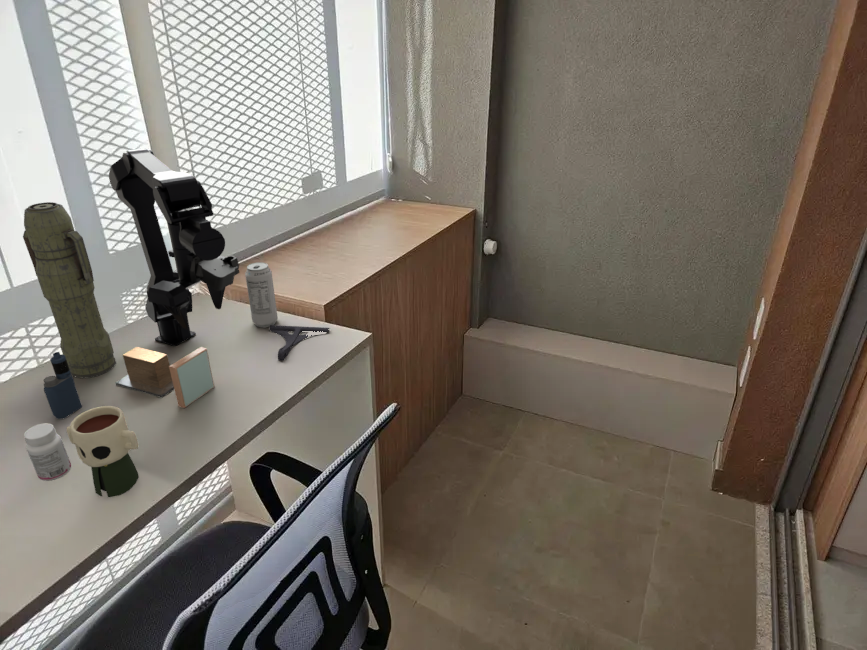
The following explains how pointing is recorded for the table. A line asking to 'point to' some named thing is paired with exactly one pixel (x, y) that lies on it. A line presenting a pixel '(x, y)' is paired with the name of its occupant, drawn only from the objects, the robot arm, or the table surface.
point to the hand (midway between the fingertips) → (202, 318)
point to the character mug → (105, 448)
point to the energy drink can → (261, 294)
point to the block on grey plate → (147, 372)
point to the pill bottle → (47, 452)
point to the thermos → (68, 288)
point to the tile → (192, 377)
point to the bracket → (292, 336)
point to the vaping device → (61, 389)
